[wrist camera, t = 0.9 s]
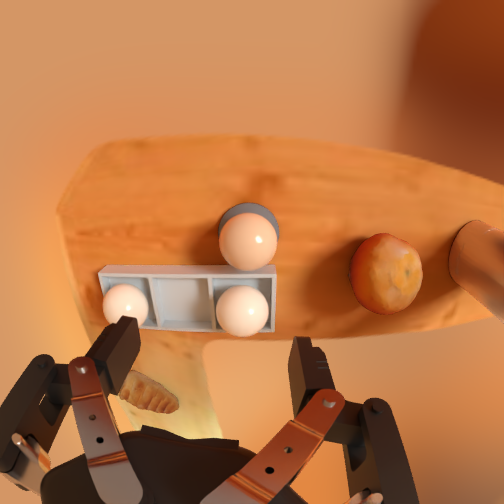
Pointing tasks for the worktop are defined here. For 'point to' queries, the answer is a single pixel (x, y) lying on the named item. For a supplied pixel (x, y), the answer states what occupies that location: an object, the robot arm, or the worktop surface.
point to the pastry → (147, 394)
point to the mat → (249, 209)
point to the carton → (189, 292)
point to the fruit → (385, 274)
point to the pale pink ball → (248, 241)
